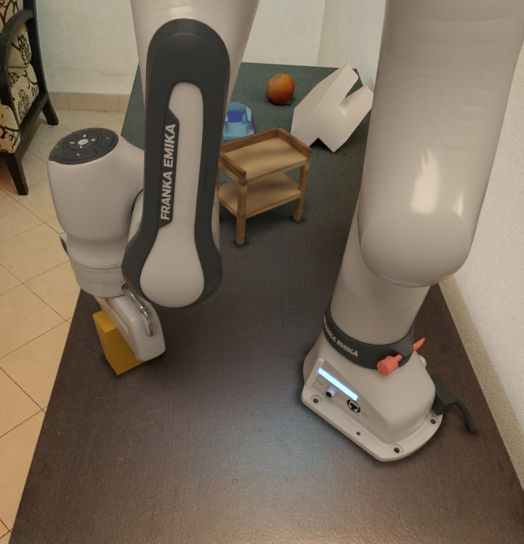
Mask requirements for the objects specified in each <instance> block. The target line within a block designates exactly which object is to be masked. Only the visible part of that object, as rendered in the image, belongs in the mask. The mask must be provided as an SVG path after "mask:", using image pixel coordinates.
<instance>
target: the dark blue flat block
mask: <svg viewBox="0 0 524 544" xmlns="http://www.w3.org/2000/svg"><path fill="white" fill-rule="evenodd" d="M243 114H244V113H243V112H239V111H230V112H227V118H228V123H237V122H242V118H243ZM246 122H247V123H248V120H247V113H246ZM249 129H250V132H251V134H255V128H254V124H253V122H252V121H251V124H250V127H249Z"/></svg>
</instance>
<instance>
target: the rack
mask: <svg viewBox="0 0 524 544" xmlns="http://www.w3.org/2000/svg"><path fill="white" fill-rule="evenodd" d="M312 154H313V148H311V147H310V146H307V145H306V144H304V143H303V142H301V141H300V140H298V139H297V138H295V137H294V136H293V135H291V134H290V132H289V131H287V130H285V129H284V128H282V127H281V126H274V127H271V128H268V129H265V130H262V131H258V132H254V134H252V135H248V136H245V137H242V138H238V139H233V140H227V142H225V143H224V142H221V149H220V157H219V165H218V173H217V181H216V186H217V189H218V195H219V204H220V205H222V206H223V207H224V208H226V210H228V212H230V213H231V214H232V215H233V216H234V217H235V218H236V233H235V235H236V237H235V243H236V244H237V245H238V246H241V245H244V244H245V239H246V238H245V237H246V220H247V219H249V218H251V217H255V216H256V215H259V214H262V213H265V212H266V211H267V212H268V211H269V210H272V209H275V208H277V207H279V206H282V205H284V204H287V203H289V202H292V201H295V203H294V210H293V215H292V216H293V218H292V219H293V220H294V221H296V222H299V221H302V216H303V209H304V203H305V196H306V191H307V186H308V179H309V172H310V167H311V161H312ZM297 168H300V171H299V177H298V183H297V182H296V181H294V180H293V179H292V178H290V177H289V176H288V175H287V174H285V173H286V172H289V171H292V170H295V169H297ZM220 170H221V171H222V172H223V173H224V174H225V175H227V176H228V177H229V178H230V179H231V180H233V181H231V182H227V183H225V184H221V185H220Z"/></svg>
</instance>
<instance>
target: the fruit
mask: <svg viewBox="0 0 524 544" xmlns="http://www.w3.org/2000/svg"><path fill="white" fill-rule="evenodd" d="M265 86H266V87H265V90H266V93H267V97H268V99H269V100H270V101H271V102H272V103H273V104H275V105H278V106H279V105H282V106H283V105H287V104H288V105H290V103H291V100H292V98H293V97H294V95H295V92H296V84H295V81H294V79H293V78H292V77H291V75H289V74H288V73H278V74H277V73H276V74H275V75H273V76H272V77H271V78H270V79H269V80H268V81H267V83H266V85H265Z"/></svg>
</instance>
